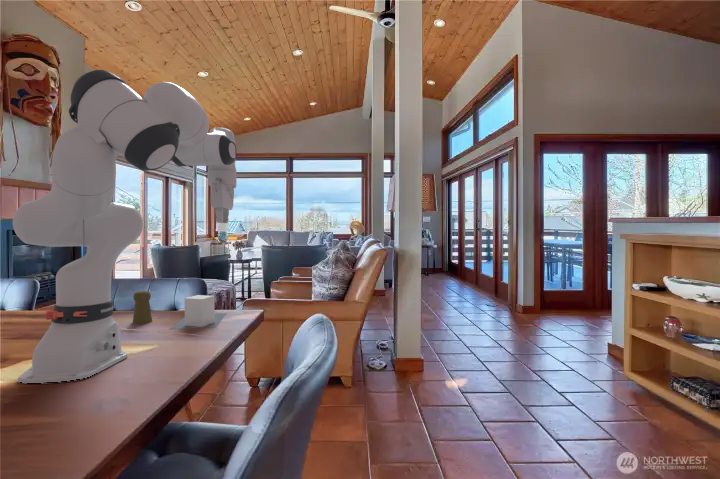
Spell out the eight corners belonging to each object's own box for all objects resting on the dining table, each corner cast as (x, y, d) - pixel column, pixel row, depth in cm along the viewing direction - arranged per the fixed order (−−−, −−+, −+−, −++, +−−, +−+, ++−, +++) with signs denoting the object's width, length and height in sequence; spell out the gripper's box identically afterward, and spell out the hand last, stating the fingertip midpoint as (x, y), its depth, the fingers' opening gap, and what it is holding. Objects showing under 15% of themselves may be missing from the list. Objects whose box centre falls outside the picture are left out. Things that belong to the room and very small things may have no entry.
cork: (133, 322, 137) (132, 290, 137) (153, 320, 140) (152, 289, 139) (131, 326, 132) (131, 293, 131) (152, 324, 134) (151, 291, 134)
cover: (214, 322, 135) (214, 295, 135) (202, 326, 129) (202, 299, 129) (197, 321, 137) (197, 294, 137) (184, 325, 131) (184, 298, 130)
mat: (215, 329, 128) (215, 327, 128) (169, 330, 126) (169, 329, 126) (226, 314, 150) (226, 313, 150) (187, 315, 147) (187, 314, 147)
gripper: (227, 176, 119) (227, 222, 120) (236, 183, 139) (236, 223, 140) (205, 175, 118) (205, 222, 119) (217, 183, 138) (218, 223, 139)
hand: (222, 223), depth 129 cm, fingers open, 8 cm apart
